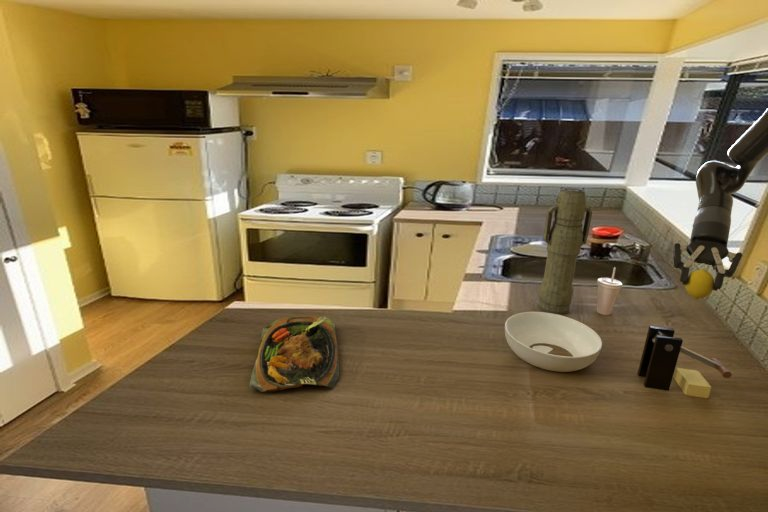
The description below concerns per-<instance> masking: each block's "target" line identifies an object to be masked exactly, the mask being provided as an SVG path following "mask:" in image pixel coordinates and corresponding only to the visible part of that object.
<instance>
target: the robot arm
mask: <svg viewBox="0 0 768 512" xmlns="http://www.w3.org/2000/svg"><path fill="white" fill-rule="evenodd" d="M767 155H768V108H766V110H765V111H764V112H763V113H762V114H761V115H760V117H759V118H757V120H756V121H755V122H754V123H753V124H752V125H750V127H749V128H748V129H747V130H746V131H745V132H744V133H743V134H742V135H741V136H740V137H739V138H738V139H737V140H736V141H735V143H734V144H732V145H731V147H730V148H729V149H728V150H727V157H728V158H729V159H730V161H732V162H733V164H735V165H737V166H736V167H734V166H732V165H729V164H726V163H725V162H720V161H717V160H710V161H707V162H705V163H704V164H702V165H701V166H700V168H699V169H698V170H697V173H696V175H695V186H696V191H697V196H698V206H697V211H696V214H695V217H694V219H693V224H692V229H691V234H690V239H689V243H688V244H684V245H681V244H680V243H678V242H677V243H675V244H674V246H673V250H672V253H673V267H674V268H675V269H679V270H680V271H681V272H680V276H679V282H681V283H682V285H684V286H685V285H686V283H687V279H688V276H689V275H690V269H691V268H692V267H693V266H694V265H695V264H703V265H706V266H711V268H712V270H713V271H714V273H715V277H714V288H713V290H712V291H715V292H716V291H717V292H718V290H721V289H722V287H723V284H724V279H725V278H729V279H730V278H733V276H734V274H735V273H736V271H737V268H738V266H739V264H740V262H741V260H742V257H743V253H742V252H739V251H738V252H736V253H734V252H731V251H729V249H728V242H729V237H730V232H731V231H730V230H731V225H732V212H733V206H734V197H733V196H732V194H735V193H737V192H739V191H740V190H741V189H742V188H743V187H744V185H746V184H745V183H746V182H747V180H748V178H749V177H750V175H751V174H752V172H753V170H754V169H756V167H757V165H758V164H759V163H760V161H762V160H763V159H764V158H765V157H766V156H767ZM684 251H686V253H687V254H688V255H689V257H688V259H687V260H686V261H685V262H683V261H682V254H684ZM725 258H728V262H730V266H729V267H728V269H725V267H724V262H723V260H724V259H725Z"/></svg>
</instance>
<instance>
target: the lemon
mask: <svg viewBox="0 0 768 512" xmlns="http://www.w3.org/2000/svg"><path fill="white" fill-rule="evenodd" d="M714 282H715V277H713V275H712V274H711V273H710V272H709V271H707V270H706V269H704V268H702V269H698V270H694V271H692V272H691V273H689V274H688V279H687V283H686V285H684V286H685V291H686V293H687V294H688V295H689V296H690V297H692V298H693V300H696V301H697V300H700V299H704V298H707V297H709V296H710V295H711V294H712V292H713V291H714V290H713V288H714Z"/></svg>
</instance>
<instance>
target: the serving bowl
mask: <svg viewBox="0 0 768 512" xmlns="http://www.w3.org/2000/svg"><path fill="white" fill-rule="evenodd" d="M504 335H505V340H506V342H507V344H508V346H509V347H510V349H511V350H512V351H513V353H514V354H515V355H516V356H517V357H518V358H520V359H521V360H523V361H524V362H526V363H527V364H530V365H532V366H534V367H537V368H539V369H542V370H546V371H551V372H560V373H566V372H567V373H568V372H576V371H579V370H582V369H585V368H587V367H588V366H590V365H592V363H594V362H595V361H596V360H597V358H598V357H599V355H600V354H601V350H602V348H603V341H602V338H601V337H600V335H599V334H598V333H597V332H596V331H595V330H594V329H593V328H591V327H590V326H588V325H586V324H585V323H582V322H581V321H579V320H576V319H574V318H572V317H568V316H564V315H562V314H553V313H549V312H546V311H524V312H519V313H516V314H513V315H511V316H509V317H508V318H507V319H506V320H505V323H504ZM536 344H546V345H547V344H548V345H552V346H557V347H560V348H562V349H564V350H565V351H567V352H568V353H569V354H570V355H572V356H565V355H557V354H552V353H550V352H551V351H553V350H554V348H552V347H550V346H546V345H536ZM531 346H532V347H531Z"/></svg>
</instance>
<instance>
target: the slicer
mask: <svg viewBox="0 0 768 512" xmlns="http://www.w3.org/2000/svg"><path fill="white" fill-rule="evenodd" d="M658 331H660V332H663V333H665V334H667V335H669V336H671V337H667V336H660V335H656V333H657V332H658ZM675 332H676V331H675V329H674V328H669V327H663V326H662V327H661V326H654V325H649V326H648V330H647V334H646V338H645V342H644V346H643V350H642V354H641V357H640V360H639V361H640V362H639V366H638V370H637V376H638V377H639V378H644V381H643V386H644V388H646V389H647V388H648V389H654V390H660V391H665V392H669V391H670V388H671V384H672V381H673V379H674V375H675V372H676V368H677V363H678V359H679V356H680V353H681V352H680V349H681V346H683V342H684V340H683V338H681V337H674V335H675ZM655 335H656V338H655V342H653V341H652V339H653V337H654V336H655Z"/></svg>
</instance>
